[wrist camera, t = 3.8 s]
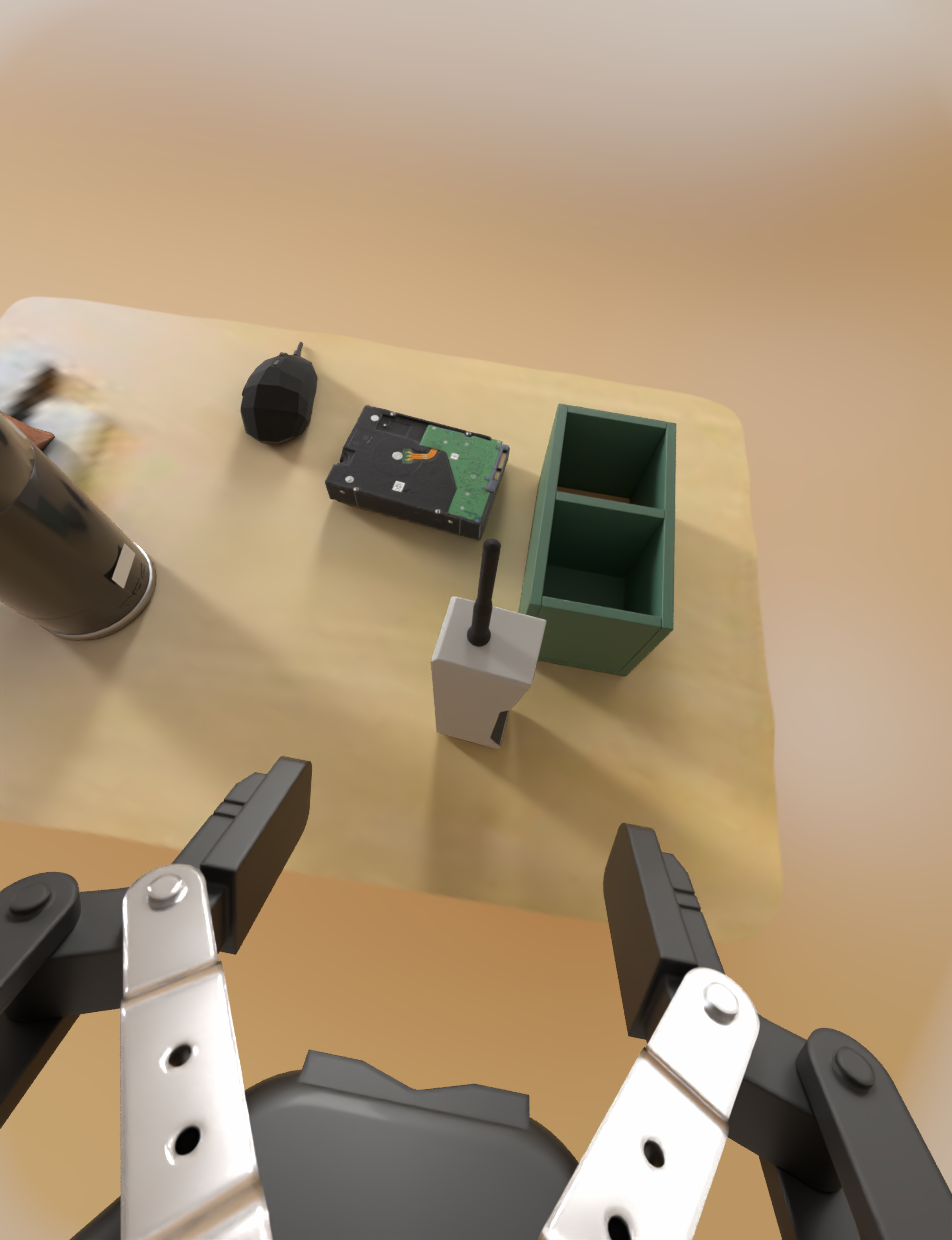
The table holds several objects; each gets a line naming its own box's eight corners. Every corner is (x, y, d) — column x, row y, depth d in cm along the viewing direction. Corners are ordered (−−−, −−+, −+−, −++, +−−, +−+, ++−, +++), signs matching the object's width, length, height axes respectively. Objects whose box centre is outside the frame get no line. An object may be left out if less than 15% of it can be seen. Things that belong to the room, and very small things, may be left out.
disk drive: (329, 504, 48) (482, 543, 47) (322, 484, 46) (483, 525, 45) (368, 424, 53) (508, 458, 51) (363, 403, 50) (511, 438, 49)
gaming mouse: (330, 347, 57) (322, 312, 53) (303, 451, 50) (292, 420, 47) (272, 342, 56) (261, 307, 53) (238, 446, 50) (222, 414, 47)
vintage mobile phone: (498, 750, 40) (569, 613, 17) (436, 733, 40) (422, 575, 17) (510, 704, 41) (588, 521, 18) (449, 688, 41) (453, 488, 19)
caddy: (511, 655, 43) (529, 603, 34) (538, 482, 50) (558, 403, 42) (626, 676, 43) (673, 629, 34) (635, 499, 50) (676, 423, 41)
